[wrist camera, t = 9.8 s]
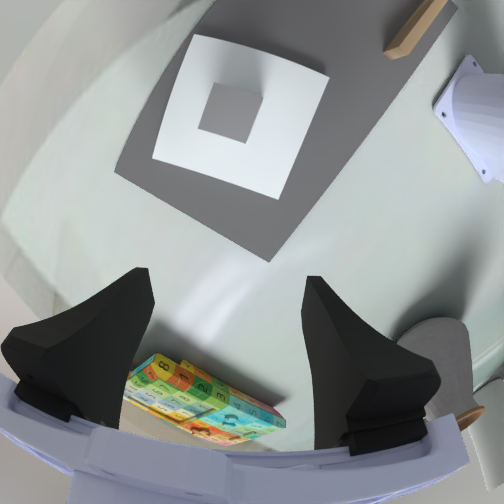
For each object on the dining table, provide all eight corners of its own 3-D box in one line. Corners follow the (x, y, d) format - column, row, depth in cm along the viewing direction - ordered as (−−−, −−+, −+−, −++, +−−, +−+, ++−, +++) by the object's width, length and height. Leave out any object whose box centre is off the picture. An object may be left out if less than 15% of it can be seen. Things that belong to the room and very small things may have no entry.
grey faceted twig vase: (434, 288, 23) (505, 402, 10) (468, 324, 26) (517, 411, 13) (304, 396, 32) (312, 499, 19) (356, 411, 35) (372, 494, 22)
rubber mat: (455, 8, 10) (458, 7, 9) (268, 259, 22) (268, 262, 22) (319, -86, 6) (320, -88, 6) (116, 170, 19) (113, 172, 18)
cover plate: (325, 79, 15) (348, 68, 10) (277, 194, 19) (282, 222, 15) (198, 38, 14) (176, 15, 9) (158, 155, 18) (126, 171, 13)
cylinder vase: (502, 384, 38) (533, 457, 16) (464, 413, 42) (488, 488, 20) (500, 370, 34) (538, 457, 12) (456, 405, 39) (485, 494, 17)
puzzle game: (227, 450, 34) (109, 396, 27) (229, 426, 38) (120, 369, 32) (286, 433, 30) (150, 368, 23) (284, 405, 34) (162, 334, 27)
